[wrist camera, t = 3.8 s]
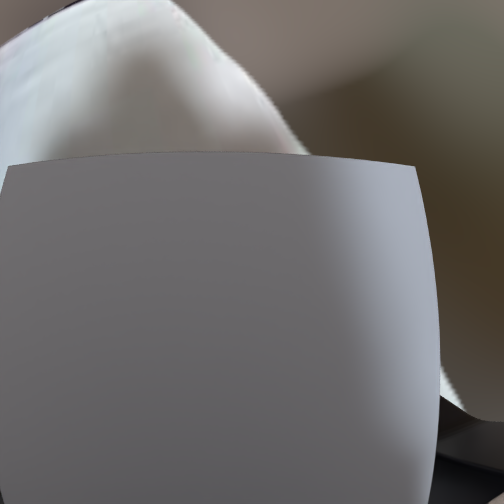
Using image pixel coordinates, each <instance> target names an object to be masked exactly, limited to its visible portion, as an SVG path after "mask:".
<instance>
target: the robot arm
mask: <svg viewBox="0 0 504 504" xmlns="http://www.w3.org/2000/svg"><path fill="white" fill-rule="evenodd" d="M0 504H4V501H3V497H2V494H1V490H0ZM428 504H504V422H495V421H485V420H480V419H477V418H475V417H473V416H471V415H469V414H467V413H466V412H465V411H463V410H462V409H460V408H459V407H457V406H456V405H454V404H453V403H451V402H450V401H448V400H447V399H445V398H444V397H442V396H441V395H440V401H439V420H438V433H437V443H436V453H435V461H434V469H433V476H432V482H431V488H430V494H429V499H428Z"/></svg>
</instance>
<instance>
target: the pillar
mask: <svg viewBox="0 0 504 504" xmlns="http://www.w3.org/2000/svg"><path fill="white" fill-rule="evenodd" d="M439 401H440V337H439V319H438V304H437V293H436V283H435V274H434V266H433V258H432V251H431V245H430V238H429V233H428V226H427V221H426V215H425V210H424V205H423V200H422V195H421V191H420V186H419V183H418V178H417V173H416V169H415V167H413V166H406V165H399V164H392V163H383V162H375V161H367V160H356V159H348V158H347V159H346V158H337V157H326V156H313V155H298V154H281V153H258V152H154V153H132V154H115V155H101V156H88V157H77V158H67V159H58V160H49V161H41V162H33V163H26V164H19V165H12V166H8V169H7V173H6V176H5V179H4V183H3V187H2V190H1V194H0V490H1V494H2V497H3V501H4V504H428V499H429V494H430V488H431V482H432V476H433V469H434V461H435V453H436V443H437V433H438V420H439Z"/></svg>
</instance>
